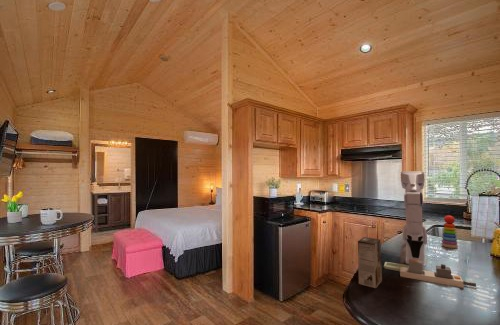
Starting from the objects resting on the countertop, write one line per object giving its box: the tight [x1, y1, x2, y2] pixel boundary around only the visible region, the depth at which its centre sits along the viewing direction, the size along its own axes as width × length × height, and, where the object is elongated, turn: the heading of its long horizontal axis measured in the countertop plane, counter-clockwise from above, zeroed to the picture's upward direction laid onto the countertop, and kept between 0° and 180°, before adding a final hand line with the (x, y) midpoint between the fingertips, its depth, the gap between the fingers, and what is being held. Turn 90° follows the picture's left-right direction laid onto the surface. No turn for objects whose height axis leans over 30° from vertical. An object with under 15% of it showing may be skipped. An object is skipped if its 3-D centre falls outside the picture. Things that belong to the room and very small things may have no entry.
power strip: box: [399, 267, 477, 289], centre depth 101 cm, size 7×24×3 cm, turn 58°
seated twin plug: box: [435, 263, 452, 279], centre depth 100 cm, size 4×4×6 cm
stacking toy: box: [441, 215, 459, 249], centre depth 157 cm, size 8×8×19 cm
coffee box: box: [357, 236, 383, 289], centre depth 99 cm, size 9×6×16 cm
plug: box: [408, 259, 423, 274], centre depth 105 cm, size 4×4×6 cm
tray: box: [383, 261, 409, 272], centre depth 115 cm, size 8×10×1 cm
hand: (415, 255), depth 105 cm, fingers open, 7 cm apart
